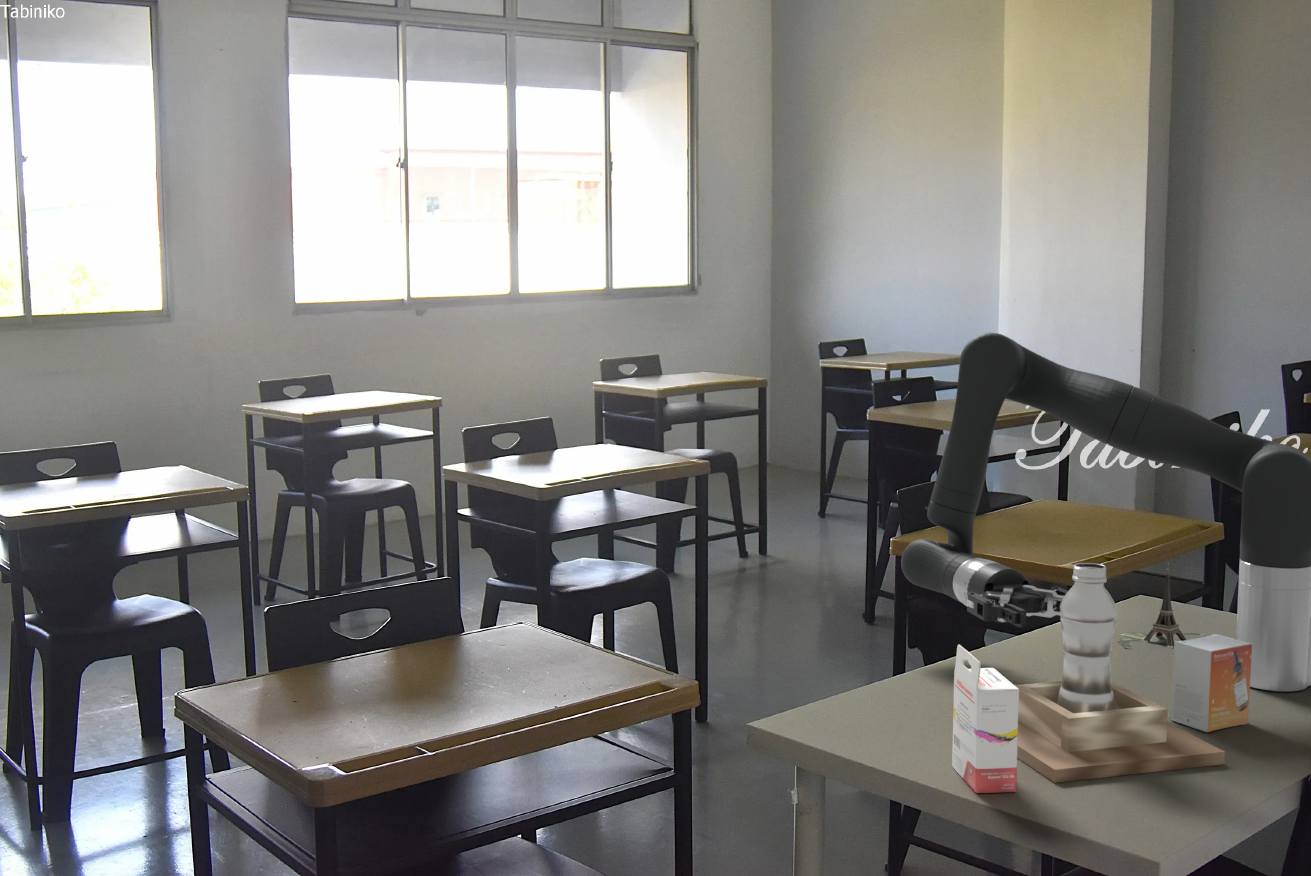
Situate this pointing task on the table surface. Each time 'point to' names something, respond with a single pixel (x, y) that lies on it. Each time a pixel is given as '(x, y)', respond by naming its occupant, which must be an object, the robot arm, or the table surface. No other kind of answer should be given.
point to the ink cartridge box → (984, 726)
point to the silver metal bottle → (1087, 641)
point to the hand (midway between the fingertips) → (1054, 617)
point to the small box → (1211, 682)
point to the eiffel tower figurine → (1159, 626)
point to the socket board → (1103, 737)
